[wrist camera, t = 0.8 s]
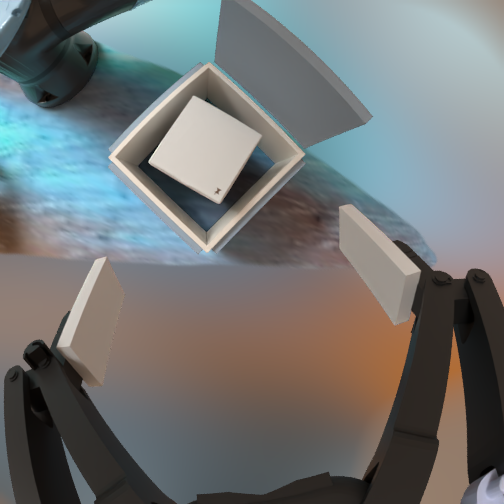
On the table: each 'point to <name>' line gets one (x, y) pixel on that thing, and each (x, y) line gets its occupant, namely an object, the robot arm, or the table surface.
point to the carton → (157, 126)
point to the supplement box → (205, 149)
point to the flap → (284, 74)
